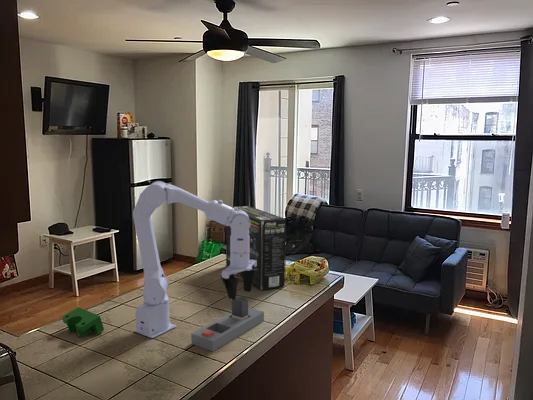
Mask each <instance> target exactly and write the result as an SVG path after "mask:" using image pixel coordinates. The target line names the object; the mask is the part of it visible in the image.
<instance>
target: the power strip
mask: <svg viewBox="0 0 533 400" xmlns="http://www.w3.org/2000/svg"><path fill="white" fill-rule="evenodd" d="M264 321H265V312H264V311H262V310H259V309H256V308H252V307H249V306H248V318H247V319H246V320H244V321H241V320H238V319H234V318H232V311H231V312H229V313H228V314H226V315H223V316H222V317H220V318H218V319H216V320H215V321H214V320H213V321H212V322H210V323H208V324H206V325H205V326H203V327H200V328H199V329H197V330H195V331H193V332H191V335H190V338H191V339H190V340H191V344H192V345H195V346H197V347H200V348H202V349H205V350H207V351H209V352H210V351H211V352H215V351H216V350H218V349H220V348H221V347H224V346H226V345H227V344H228V343H230V342H232V341H234V340H235V339H237V338H238V337H240V336H241V335H243V334H245V333H247V331H248V332H249V331H250V330H252V329H253V328H254V327H256V326H258V325H260V324H261V323H263V322H264Z"/></svg>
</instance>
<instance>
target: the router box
mask: <svg viewBox="0 0 533 400" xmlns="http://www.w3.org/2000/svg"><path fill="white" fill-rule="evenodd" d="M231 207H232V208H234V207H236V208H238V210H239V209H240V210H243V211H244V212H246V213H247V215H248V216H249V220H250V223H251V225H250V228H249V237H250V251H249V260H257V266H256V267H254V268H257V269H258V273H257V274H256V276H255V279H254V281H253V285H252V286H254V287H256V288H257V289H258V290H260V291H262V290H263V291H264V290H272V289H276V288H279V287H280V288H281V287H284V286H285V281H286V280H285V279H286V277H285V274H286V258H287V257H286V254H287V250H286V249H287V222H286V218H284V217H281V216H279V215H276V214H273V213H269V212H267V211H264V210H261V209H259V208H255V207H253V206H251V205H250V206H249V205H244V206H243V205H242V206H240V205H239V206H231ZM225 233H226V241H225V242H226V244H225V245H226V247H225V249H226V250H225V251H226V255H225V257H226V258H225V263H226V264H225V266H226V268H227V267H228V266H230V236H231V227H230V226H226V232H225ZM237 275H238V276H240V277H242V278H243V276H242V272H239V273H237Z"/></svg>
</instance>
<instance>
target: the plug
mask: <svg viewBox="0 0 533 400" xmlns="http://www.w3.org/2000/svg"><path fill="white" fill-rule="evenodd" d="M248 307H249V298H247V297H243V296H240V295H239V296H238V295H236V299H235V300H233V299H231V312H232V318H234V319H238V320H241V321H244V320H246V319H247V318H248Z"/></svg>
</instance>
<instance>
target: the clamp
mask: <svg viewBox="0 0 533 400" xmlns="http://www.w3.org/2000/svg"><path fill="white" fill-rule="evenodd" d="M61 319H62V322H63V324H65V325H66V326H67V328H68V329H67V330H68V332H69V334H73V333H75V332H77V334H78V337H79V339H83V338H84V337H85V336H87V335H88V334H90V333H92V334H94V335H96V336H98V335H100V334H101V333H103V331H105V327H104V324H103V321H102V318H101V316H100V315H99V314H96V313H94V312H91V311H88V310H87V309H85V308H82V307H79V306H77V307H75V308H74V309H73V310H71V311H69V312H68V313H66V314H64V315H63V316H62V317H61Z"/></svg>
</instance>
